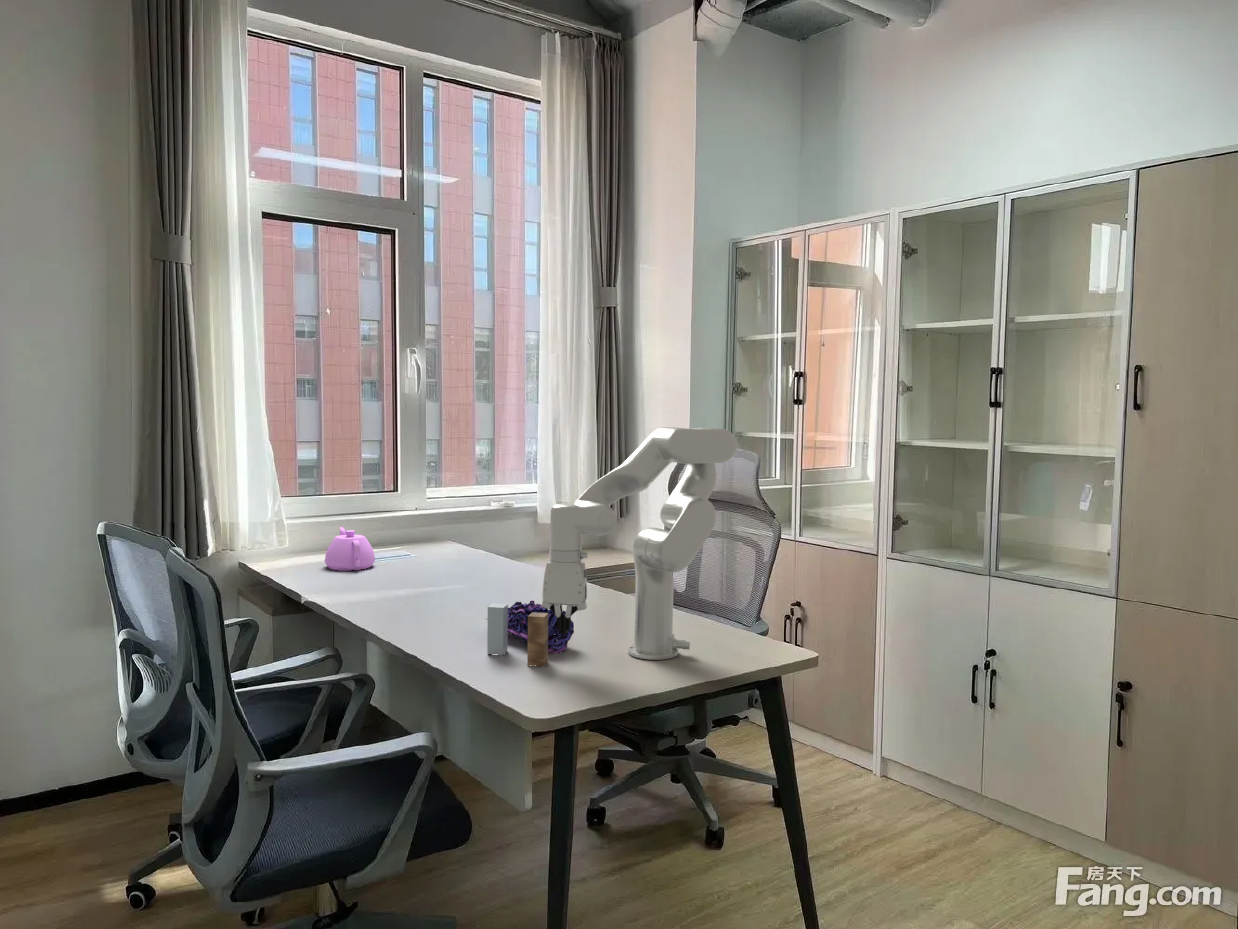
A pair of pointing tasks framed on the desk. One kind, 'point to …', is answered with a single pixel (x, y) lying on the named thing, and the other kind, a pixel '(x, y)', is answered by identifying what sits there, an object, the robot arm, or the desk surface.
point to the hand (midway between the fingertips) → (563, 632)
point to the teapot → (349, 552)
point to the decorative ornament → (520, 625)
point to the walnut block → (537, 639)
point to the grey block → (497, 629)
